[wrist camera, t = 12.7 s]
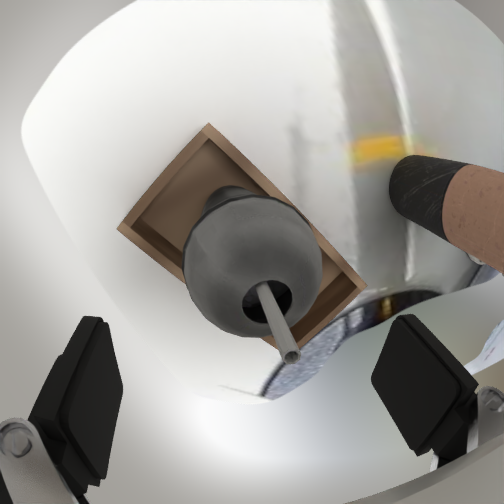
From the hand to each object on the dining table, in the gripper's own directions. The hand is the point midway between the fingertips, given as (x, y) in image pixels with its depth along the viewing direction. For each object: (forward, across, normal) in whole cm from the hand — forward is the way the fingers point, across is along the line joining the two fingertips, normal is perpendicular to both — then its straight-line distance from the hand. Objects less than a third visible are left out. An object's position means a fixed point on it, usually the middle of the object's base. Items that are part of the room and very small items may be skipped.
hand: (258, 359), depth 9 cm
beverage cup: (+19, 0, 0) cm, 19 cm away
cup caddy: (+19, -2, +3) cm, 20 cm away
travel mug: (+20, -20, -4) cm, 29 cm away
